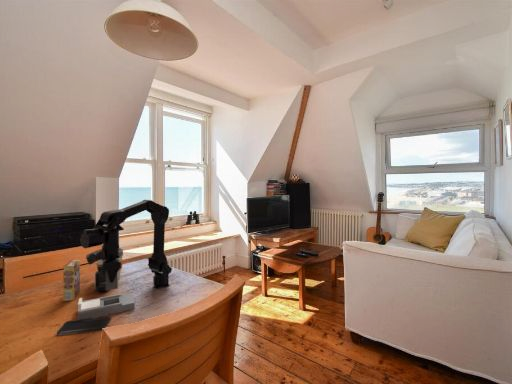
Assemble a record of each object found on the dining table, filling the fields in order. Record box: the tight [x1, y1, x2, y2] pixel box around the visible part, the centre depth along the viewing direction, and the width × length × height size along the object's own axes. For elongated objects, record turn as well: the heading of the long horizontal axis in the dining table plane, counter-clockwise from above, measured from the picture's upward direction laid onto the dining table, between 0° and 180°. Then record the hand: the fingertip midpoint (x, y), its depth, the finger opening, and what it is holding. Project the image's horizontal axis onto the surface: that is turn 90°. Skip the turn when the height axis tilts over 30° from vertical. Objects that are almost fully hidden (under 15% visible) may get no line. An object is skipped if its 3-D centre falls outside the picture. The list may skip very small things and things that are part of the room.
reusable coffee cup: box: [96, 247, 124, 281], centre depth 134 cm, size 13×13×15 cm
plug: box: [106, 271, 118, 292], centre depth 104 cm, size 4×4×9 cm
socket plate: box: [77, 292, 136, 320], centre depth 104 cm, size 19×11×3 cm, turn 121°
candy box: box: [62, 259, 81, 302], centre depth 114 cm, size 9×4×15 cm, turn 20°
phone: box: [56, 316, 112, 336], centre depth 91 cm, size 8×1×15 cm
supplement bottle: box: [94, 264, 110, 294], centre depth 121 cm, size 7×7×12 cm
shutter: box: [77, 297, 100, 312], centre depth 100 cm, size 7×7×3 cm
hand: (111, 280), depth 104 cm, fingers closed on plug, 4 cm apart
